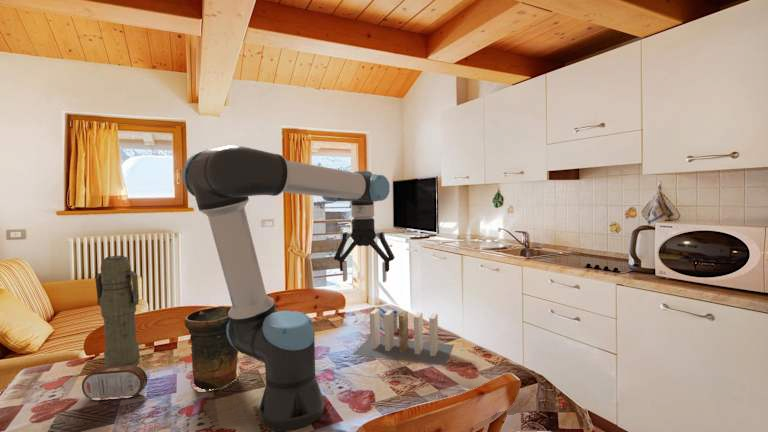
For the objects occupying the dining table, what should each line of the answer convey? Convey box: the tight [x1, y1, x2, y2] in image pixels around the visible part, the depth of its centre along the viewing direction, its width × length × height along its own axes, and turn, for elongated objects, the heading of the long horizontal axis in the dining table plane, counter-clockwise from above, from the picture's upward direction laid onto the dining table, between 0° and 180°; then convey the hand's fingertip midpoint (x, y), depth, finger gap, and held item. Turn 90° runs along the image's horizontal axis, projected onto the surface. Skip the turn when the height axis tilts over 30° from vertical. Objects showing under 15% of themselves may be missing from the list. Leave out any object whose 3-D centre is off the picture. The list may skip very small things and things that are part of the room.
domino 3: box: [413, 311, 424, 354], centre depth 128 cm, size 2×5×12 cm, turn 161°
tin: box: [81, 365, 148, 400], centre depth 104 cm, size 15×3×8 cm, turn 98°
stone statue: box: [95, 255, 141, 367], centre depth 121 cm, size 9×12×35 cm
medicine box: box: [377, 305, 398, 334], centre depth 149 cm, size 8×4×9 cm, turn 25°
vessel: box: [183, 305, 240, 391], centre depth 113 cm, size 14×14×20 cm
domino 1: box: [369, 308, 381, 349], centre depth 133 cm, size 2×5×12 cm, turn 161°
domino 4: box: [428, 313, 439, 356], centre depth 126 cm, size 2×5×12 cm, turn 161°
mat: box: [352, 336, 455, 366], centre depth 130 cm, size 16×30×1 cm, turn 71°
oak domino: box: [398, 310, 409, 353], centre depth 130 cm, size 2×5×12 cm, turn 161°
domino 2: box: [383, 310, 395, 351], centre depth 131 cm, size 2×5×12 cm, turn 161°
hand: (364, 281), depth 133 cm, fingers open, 13 cm apart
